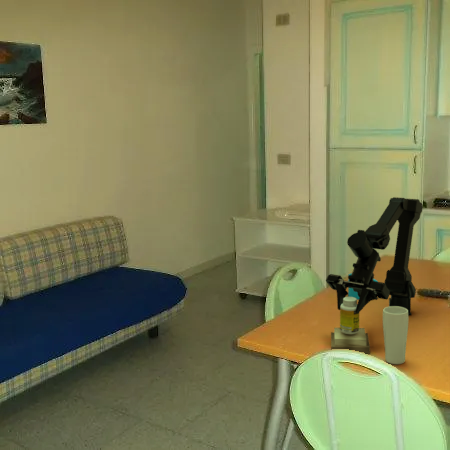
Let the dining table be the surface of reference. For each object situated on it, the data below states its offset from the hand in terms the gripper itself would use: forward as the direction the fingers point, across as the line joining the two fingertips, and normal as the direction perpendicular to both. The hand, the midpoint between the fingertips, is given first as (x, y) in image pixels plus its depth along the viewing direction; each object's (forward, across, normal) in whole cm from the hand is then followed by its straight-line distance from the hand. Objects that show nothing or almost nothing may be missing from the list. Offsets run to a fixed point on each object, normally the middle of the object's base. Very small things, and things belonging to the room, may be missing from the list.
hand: (347, 311), depth 172 cm
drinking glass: (+9, -16, -7) cm, 19 cm away
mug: (-23, +18, -40) cm, 50 cm away
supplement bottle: (+4, 0, -6) cm, 7 cm away
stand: (+7, 0, -9) cm, 11 cm away
